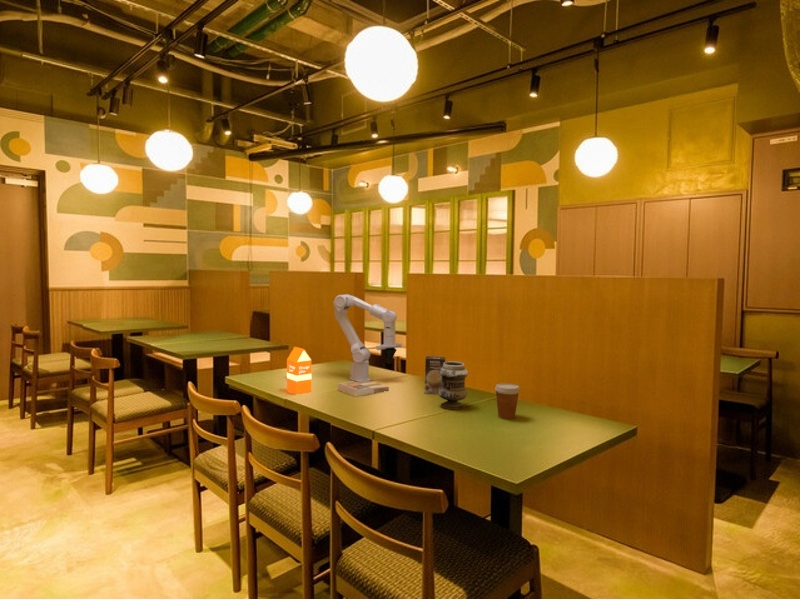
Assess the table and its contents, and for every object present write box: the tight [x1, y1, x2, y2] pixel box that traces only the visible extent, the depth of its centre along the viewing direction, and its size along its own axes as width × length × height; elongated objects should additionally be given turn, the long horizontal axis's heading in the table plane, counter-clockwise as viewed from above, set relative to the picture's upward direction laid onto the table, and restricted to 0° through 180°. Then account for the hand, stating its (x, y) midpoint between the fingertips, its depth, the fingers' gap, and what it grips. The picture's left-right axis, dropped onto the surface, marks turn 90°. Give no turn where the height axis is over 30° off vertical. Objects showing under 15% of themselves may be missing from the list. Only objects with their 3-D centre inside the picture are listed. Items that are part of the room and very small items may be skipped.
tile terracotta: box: [347, 382, 362, 388], centre depth 236 cm, size 5×5×2 cm
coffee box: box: [423, 355, 446, 395], centre depth 234 cm, size 9×6×16 cm
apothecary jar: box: [437, 360, 469, 410], centre depth 211 cm, size 12×12×18 cm
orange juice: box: [286, 346, 313, 395], centre depth 231 cm, size 8×9×20 cm
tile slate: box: [356, 385, 370, 390], centre depth 231 cm, size 5×5×2 cm
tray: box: [337, 380, 375, 398], centre depth 233 cm, size 15×10×4 cm, turn 40°
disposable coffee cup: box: [494, 382, 521, 420], centre depth 198 cm, size 10×10×12 cm
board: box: [357, 380, 390, 394], centre depth 238 cm, size 15×8×2 cm, turn 40°
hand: (389, 363), depth 252 cm, fingers closed
